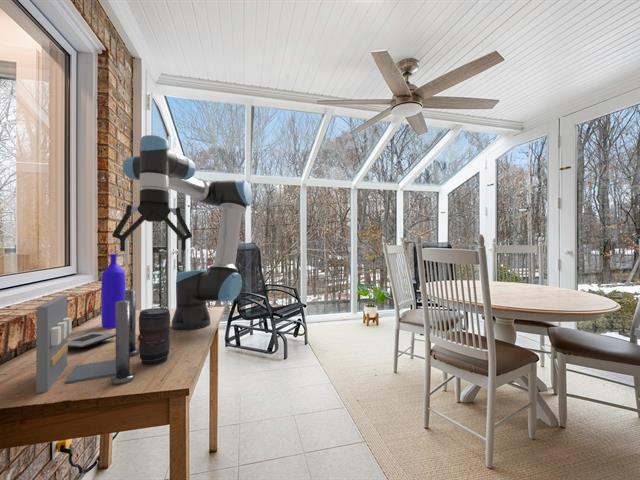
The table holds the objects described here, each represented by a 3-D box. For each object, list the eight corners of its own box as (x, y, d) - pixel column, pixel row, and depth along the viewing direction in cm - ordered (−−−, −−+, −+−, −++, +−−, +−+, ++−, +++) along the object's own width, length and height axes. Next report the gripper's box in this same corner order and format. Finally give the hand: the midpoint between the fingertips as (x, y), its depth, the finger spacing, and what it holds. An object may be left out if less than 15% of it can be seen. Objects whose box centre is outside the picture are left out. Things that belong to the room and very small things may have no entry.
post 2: (139, 350, 98) (139, 288, 98) (138, 355, 93) (138, 290, 93) (121, 353, 95) (121, 289, 96) (119, 358, 91) (119, 292, 91)
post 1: (135, 374, 80) (135, 298, 80) (133, 382, 76) (133, 302, 76) (112, 378, 78) (112, 300, 78) (109, 386, 73) (109, 304, 73)
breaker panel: (73, 364, 87) (73, 294, 87) (55, 390, 72) (55, 305, 72) (58, 366, 85) (58, 295, 85) (36, 393, 70) (36, 307, 70)
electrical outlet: (81, 352, 95) (81, 344, 95) (55, 350, 98) (55, 342, 98) (117, 339, 108) (117, 332, 108) (93, 337, 110) (93, 331, 110)
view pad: (122, 360, 90) (122, 358, 90) (117, 374, 80) (117, 372, 80) (75, 367, 85) (75, 365, 85) (64, 383, 75) (64, 381, 75)
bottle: (112, 322, 131) (112, 253, 131) (130, 323, 130) (130, 253, 130) (96, 328, 123) (96, 254, 123) (114, 328, 122) (114, 254, 122)
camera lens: (148, 369, 83) (148, 314, 83) (133, 363, 88) (133, 311, 88) (175, 359, 90) (175, 309, 90) (160, 354, 94) (160, 306, 94)
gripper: (198, 195, 98) (198, 260, 98) (105, 188, 86) (104, 262, 86) (201, 191, 91) (201, 261, 91) (100, 184, 80) (99, 264, 80)
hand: (154, 262), depth 89 cm, fingers open, 13 cm apart
